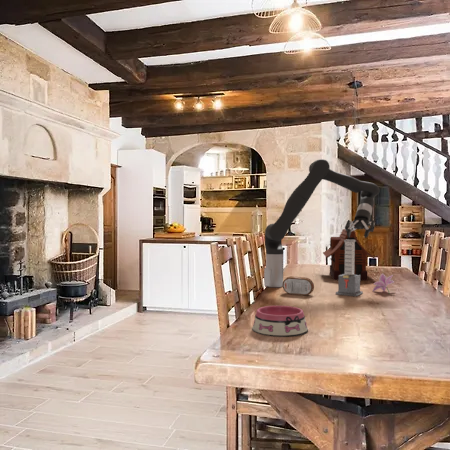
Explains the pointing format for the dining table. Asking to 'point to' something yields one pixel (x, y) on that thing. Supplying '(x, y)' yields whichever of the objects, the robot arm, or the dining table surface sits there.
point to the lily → (383, 282)
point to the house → (339, 256)
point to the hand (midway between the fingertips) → (356, 236)
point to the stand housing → (349, 285)
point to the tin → (298, 285)
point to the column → (349, 257)
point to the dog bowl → (280, 321)
